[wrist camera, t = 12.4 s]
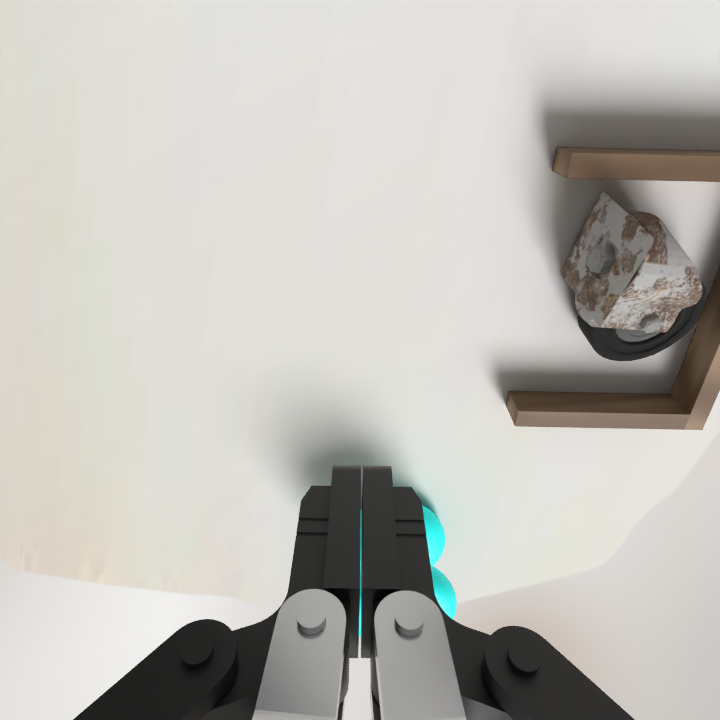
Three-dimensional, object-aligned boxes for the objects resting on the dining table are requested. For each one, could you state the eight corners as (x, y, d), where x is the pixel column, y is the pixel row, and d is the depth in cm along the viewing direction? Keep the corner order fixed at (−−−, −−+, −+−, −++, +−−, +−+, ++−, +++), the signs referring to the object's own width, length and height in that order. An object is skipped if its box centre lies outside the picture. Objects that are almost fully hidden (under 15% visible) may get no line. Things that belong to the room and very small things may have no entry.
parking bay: (556, 147, 34) (572, 153, 31) (785, 152, 34) (820, 158, 32) (506, 405, 44) (515, 426, 42) (682, 409, 44) (702, 429, 42)
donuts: (370, 568, 40) (480, 600, 42) (369, 480, 49) (460, 510, 51) (324, 638, 44) (425, 664, 46) (330, 546, 53) (415, 571, 55)
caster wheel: (635, 328, 44) (529, 320, 42) (719, 206, 36) (595, 188, 34) (679, 383, 39) (561, 377, 37) (787, 255, 31) (647, 238, 29)
